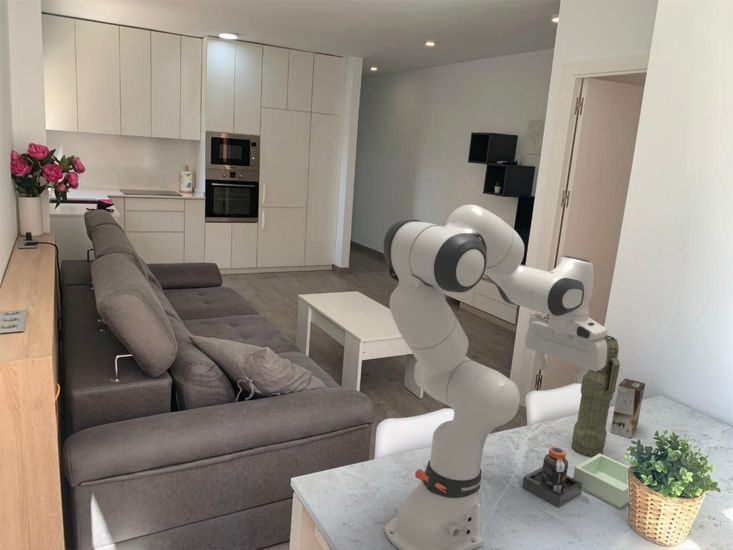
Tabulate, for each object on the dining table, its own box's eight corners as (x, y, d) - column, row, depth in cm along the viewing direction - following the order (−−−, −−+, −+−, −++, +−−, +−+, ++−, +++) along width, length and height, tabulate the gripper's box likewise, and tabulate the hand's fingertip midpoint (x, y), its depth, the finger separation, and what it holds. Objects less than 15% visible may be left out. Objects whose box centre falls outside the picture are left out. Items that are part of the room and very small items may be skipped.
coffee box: (631, 439, 180) (640, 391, 176) (609, 432, 183) (618, 385, 180) (637, 429, 187) (645, 383, 184) (616, 422, 191) (624, 377, 187)
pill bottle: (564, 499, 144) (571, 458, 141) (540, 494, 145) (546, 453, 142) (561, 486, 149) (568, 446, 147) (538, 482, 150) (544, 442, 148)
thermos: (591, 462, 163) (611, 345, 156) (561, 442, 174) (579, 331, 166) (613, 457, 167) (634, 342, 160) (583, 438, 177) (601, 330, 170)
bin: (620, 509, 141) (623, 490, 140) (572, 484, 151) (574, 467, 150) (643, 492, 150) (647, 475, 149) (596, 469, 159) (599, 453, 158)
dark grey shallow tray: (558, 507, 140) (560, 496, 139) (522, 487, 147) (523, 476, 147) (580, 493, 147) (582, 483, 146) (544, 475, 154) (546, 464, 154)
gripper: (523, 313, 145) (517, 364, 148) (600, 335, 130) (591, 393, 133) (537, 309, 149) (531, 360, 152) (614, 331, 134) (605, 387, 137)
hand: (559, 375), depth 142 cm, fingers open, 8 cm apart
